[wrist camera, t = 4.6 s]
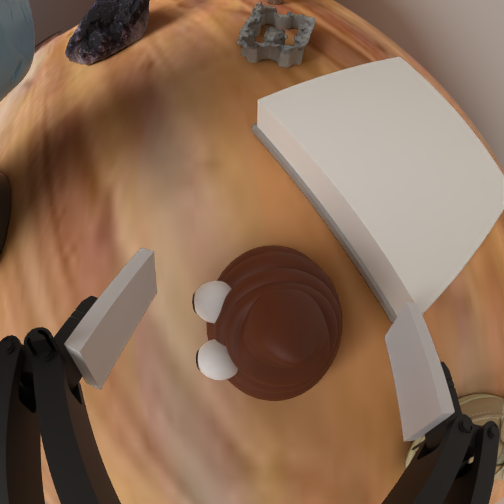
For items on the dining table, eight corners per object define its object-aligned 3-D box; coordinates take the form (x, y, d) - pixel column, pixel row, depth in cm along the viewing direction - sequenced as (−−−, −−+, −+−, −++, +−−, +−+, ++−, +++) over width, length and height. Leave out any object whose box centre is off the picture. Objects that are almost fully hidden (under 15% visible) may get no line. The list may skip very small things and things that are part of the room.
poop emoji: (334, 386, 17) (398, 434, 8) (212, 397, 17) (180, 461, 8) (324, 247, 19) (380, 192, 10) (203, 255, 19) (163, 202, 10)
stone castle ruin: (258, 22, 26) (258, -1, 22) (314, 33, 26) (318, 9, 22) (230, 62, 24) (228, 33, 20) (300, 75, 23) (305, 45, 19)
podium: (252, 131, 21) (252, 98, 17) (387, 78, 24) (399, 54, 20) (391, 322, 18) (420, 321, 14) (492, 207, 20) (515, 193, 16)
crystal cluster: (59, 75, 26) (31, 36, 16) (103, 21, 28) (87, -17, 18) (126, 71, 26) (102, 17, 16) (170, 16, 28) (161, -32, 18)
